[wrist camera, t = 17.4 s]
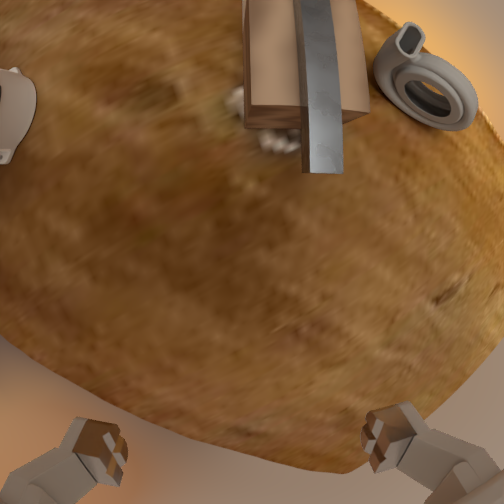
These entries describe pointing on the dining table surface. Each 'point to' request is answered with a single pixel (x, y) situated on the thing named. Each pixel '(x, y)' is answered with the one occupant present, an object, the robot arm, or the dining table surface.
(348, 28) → the step
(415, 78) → the turbocharger housing
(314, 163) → the metal bar
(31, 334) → the dining table surface
